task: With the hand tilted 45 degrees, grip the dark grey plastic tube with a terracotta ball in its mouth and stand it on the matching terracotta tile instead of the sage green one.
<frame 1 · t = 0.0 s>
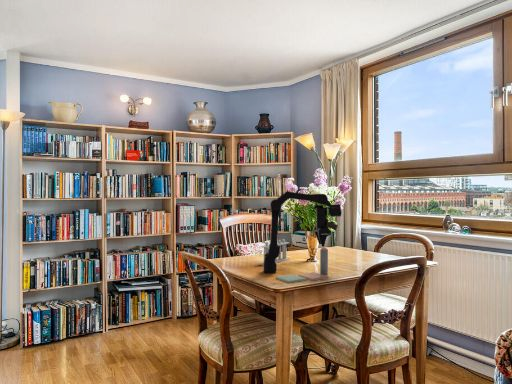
hand: (321, 245, 216), 15 cm above the table, tool pointing down, fingers open, 9 cm apart
test tube rack: (275, 262, 246), on the table
tube: (324, 273, 212), on the table
sage tile: (290, 279, 199), on the table
terracotta tile: (313, 277, 204), on the table
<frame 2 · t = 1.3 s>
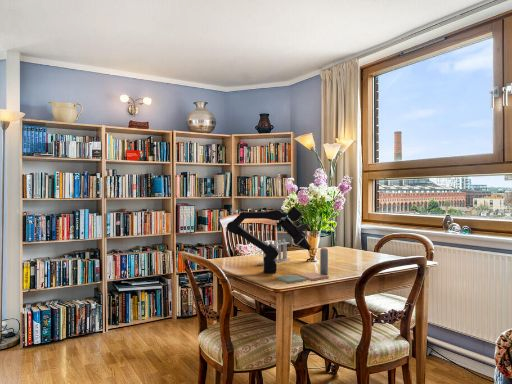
hand: (310, 248, 213), 13 cm above the table, tool tilted 45°, fingers open, 9 cm apart
nothing on the table moved.
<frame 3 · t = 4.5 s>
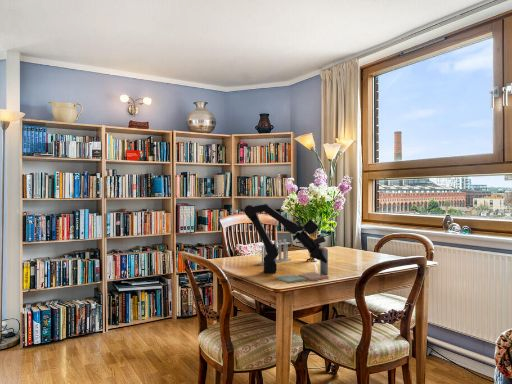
hand: (326, 261, 212), 7 cm above the table, tool tilted 45°, fingers closed on tube, 4 cm apart
tube: (324, 273, 212), on the table, touching gripper
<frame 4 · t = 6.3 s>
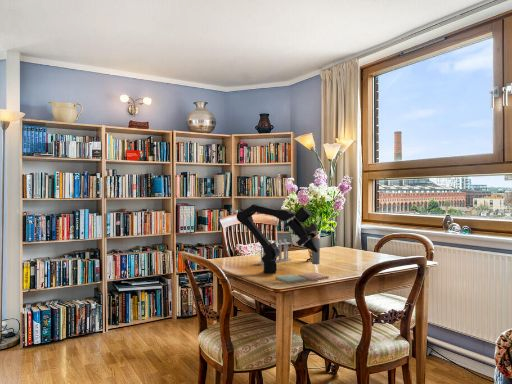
hand: (318, 251, 205), 13 cm above the table, tool tilted 45°, fingers closed on tube, 4 cm apart
tube: (315, 263, 205), point 7 cm above the table, touching gripper
when the fingers open (9 cm above the table, at t = 8.3 s): tube drops 1 cm, resting on terracotta tile.
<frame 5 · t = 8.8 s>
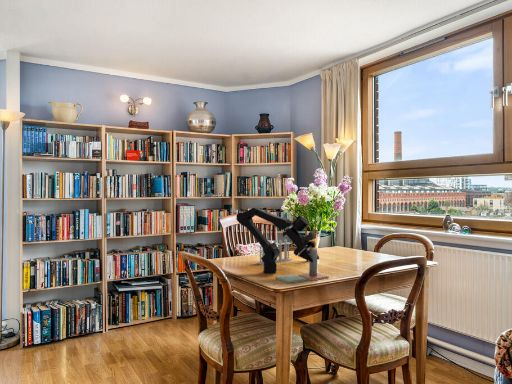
hand: (315, 260, 203), 9 cm above the table, tool tilted 45°, fingers open, 9 cm apart
tube: (313, 275, 204), point 1 cm above the table, touching terracotta tile
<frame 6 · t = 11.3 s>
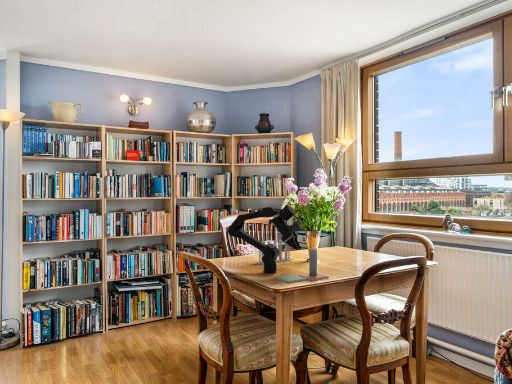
hand: (299, 249, 209), 13 cm above the table, tool tilted 40°, fingers open, 9 cm apart
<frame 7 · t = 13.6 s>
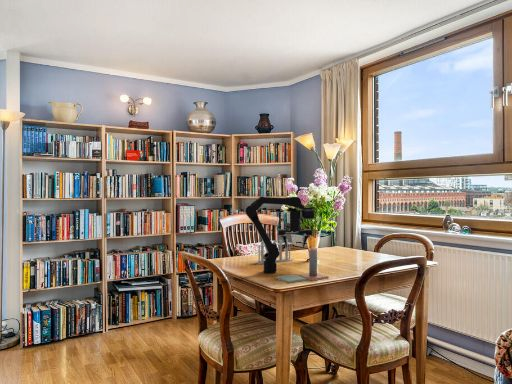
hand: (294, 247, 218), 13 cm above the table, tool pointing down, fingers open, 9 cm apart
at the end: tube 0.0 cm off-centre on the terracotta tile, point 1.0 cm above the terracotta tile's base; tube tilted 0°; the gripper is holding nothing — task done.
